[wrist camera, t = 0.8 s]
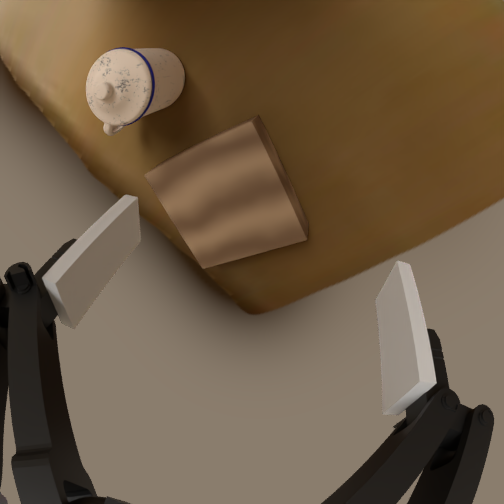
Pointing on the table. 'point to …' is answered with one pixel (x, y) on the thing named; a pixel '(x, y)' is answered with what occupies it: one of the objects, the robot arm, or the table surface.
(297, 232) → the wooden square block
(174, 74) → the teacup with lid
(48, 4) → the table surface
